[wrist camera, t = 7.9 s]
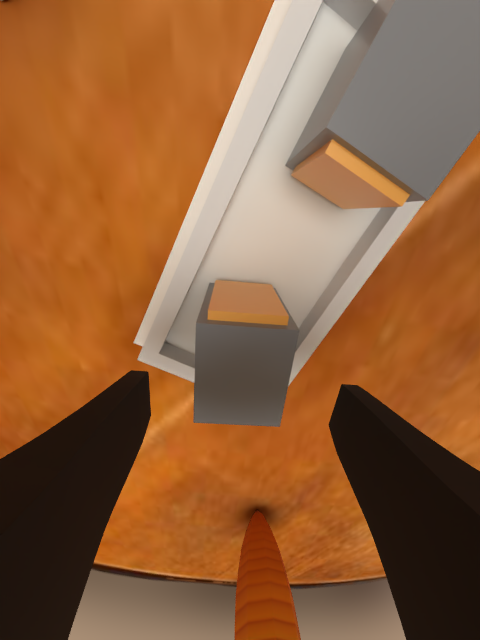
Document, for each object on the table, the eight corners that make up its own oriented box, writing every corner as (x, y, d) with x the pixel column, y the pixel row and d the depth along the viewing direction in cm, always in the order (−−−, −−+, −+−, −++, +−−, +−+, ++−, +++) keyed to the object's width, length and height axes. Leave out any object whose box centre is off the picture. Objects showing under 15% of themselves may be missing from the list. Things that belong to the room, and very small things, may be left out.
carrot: (236, 494, 24) (241, 858, 11) (285, 497, 25) (351, 851, 11) (230, 524, 26) (229, 864, 13) (276, 526, 27) (322, 858, 13)
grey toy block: (412, 103, 12) (574, 3, 6) (342, 213, 13) (418, 212, 8) (345, 48, 11) (462, -124, 5) (281, 173, 13) (318, 141, 7)
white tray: (472, 116, 13) (525, 94, 10) (273, 392, 19) (278, 416, 17) (294, -39, 10) (312, -110, 8) (138, 335, 17) (124, 354, 15)
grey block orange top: (206, 354, 17) (193, 422, 11) (209, 275, 15) (196, 313, 9) (264, 357, 17) (279, 426, 11) (276, 281, 15) (301, 321, 9)
